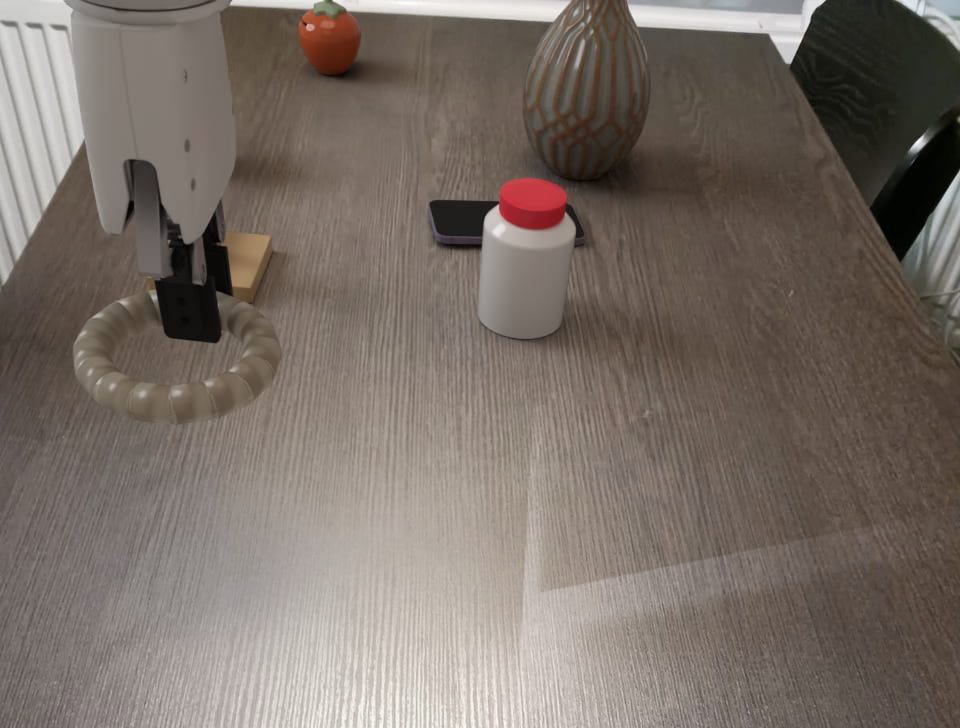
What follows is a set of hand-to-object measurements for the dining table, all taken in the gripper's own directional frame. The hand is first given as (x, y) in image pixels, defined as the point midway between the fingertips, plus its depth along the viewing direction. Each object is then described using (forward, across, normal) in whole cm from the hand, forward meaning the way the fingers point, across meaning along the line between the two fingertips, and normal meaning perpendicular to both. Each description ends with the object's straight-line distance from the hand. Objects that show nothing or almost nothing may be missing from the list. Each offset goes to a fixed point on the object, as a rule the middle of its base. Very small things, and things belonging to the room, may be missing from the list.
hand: (200, 320), depth 57 cm
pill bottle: (+15, -28, +20) cm, 38 cm away
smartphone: (+15, -43, +18) cm, 49 cm away
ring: (-1, +4, 0) cm, 4 cm away
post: (+15, -30, -8) cm, 35 cm away
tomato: (+16, -77, -6) cm, 79 cm away
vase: (+15, -58, +24) cm, 65 cm away
